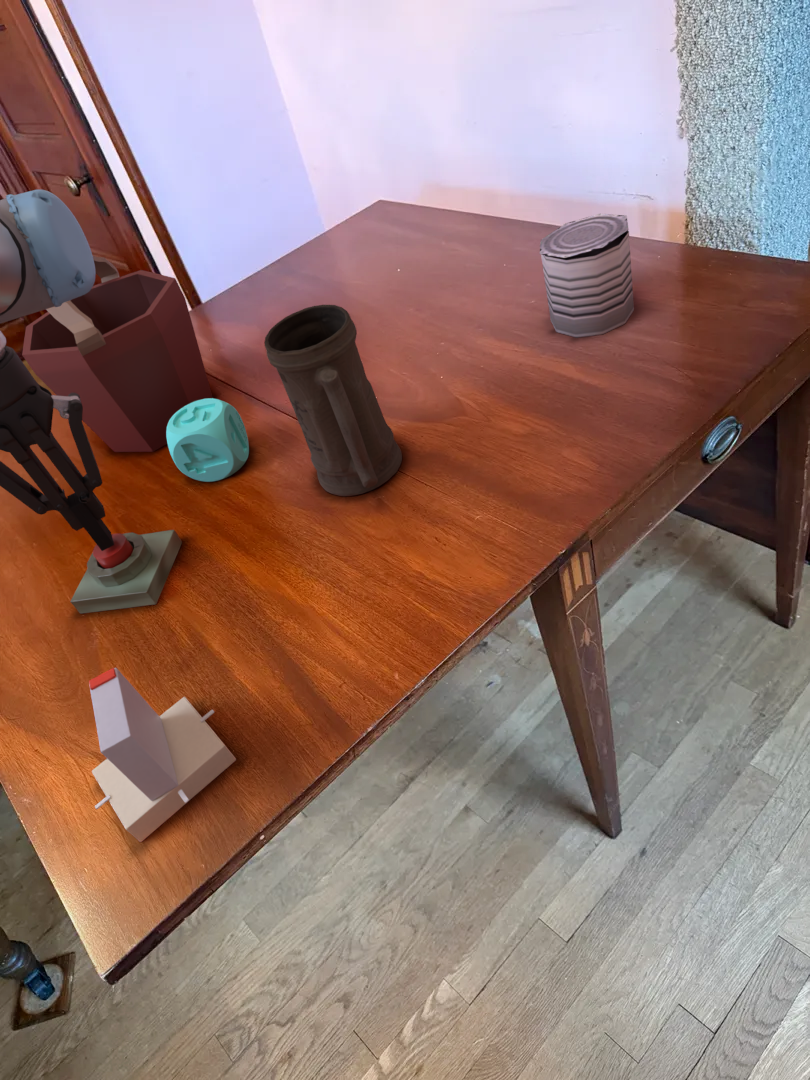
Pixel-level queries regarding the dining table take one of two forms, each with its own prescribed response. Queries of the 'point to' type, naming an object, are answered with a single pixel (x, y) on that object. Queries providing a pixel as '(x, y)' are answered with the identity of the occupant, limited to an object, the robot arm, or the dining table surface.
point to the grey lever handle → (132, 734)
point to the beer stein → (333, 399)
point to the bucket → (122, 356)
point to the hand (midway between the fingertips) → (106, 541)
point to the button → (114, 552)
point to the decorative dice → (207, 440)
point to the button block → (129, 575)
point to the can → (588, 275)
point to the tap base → (193, 763)
